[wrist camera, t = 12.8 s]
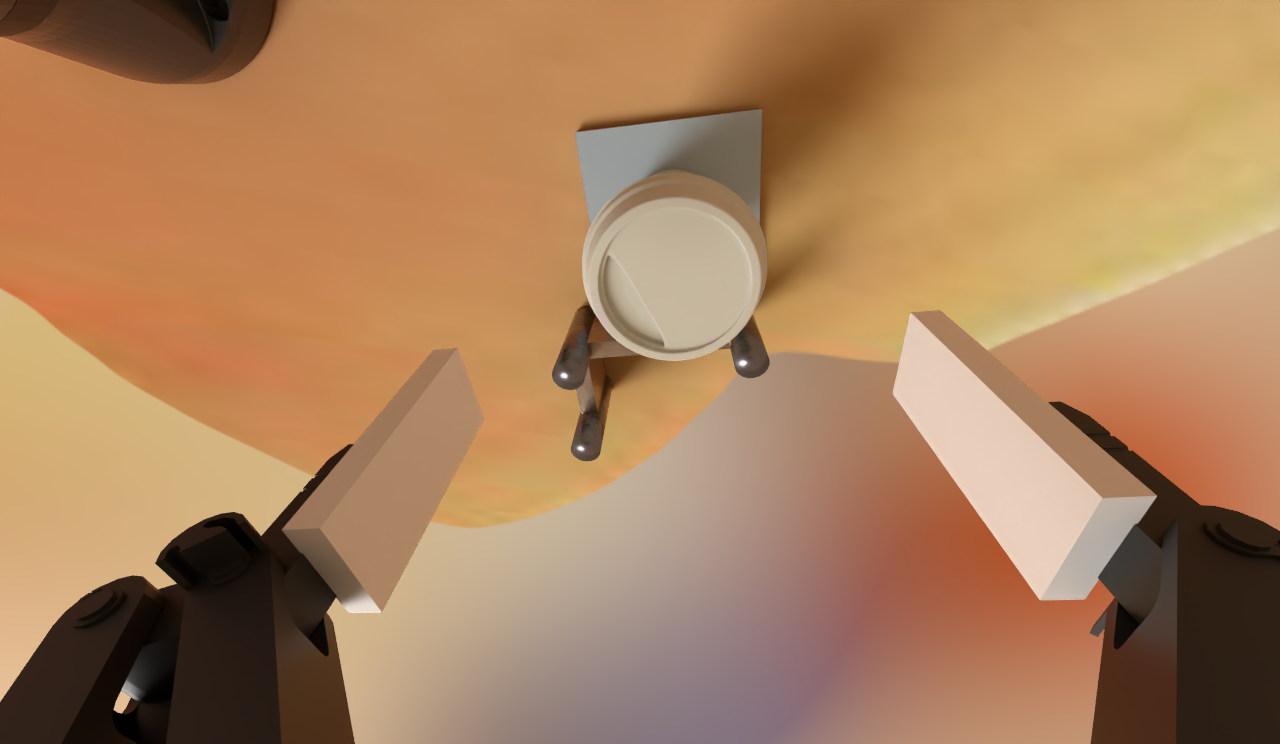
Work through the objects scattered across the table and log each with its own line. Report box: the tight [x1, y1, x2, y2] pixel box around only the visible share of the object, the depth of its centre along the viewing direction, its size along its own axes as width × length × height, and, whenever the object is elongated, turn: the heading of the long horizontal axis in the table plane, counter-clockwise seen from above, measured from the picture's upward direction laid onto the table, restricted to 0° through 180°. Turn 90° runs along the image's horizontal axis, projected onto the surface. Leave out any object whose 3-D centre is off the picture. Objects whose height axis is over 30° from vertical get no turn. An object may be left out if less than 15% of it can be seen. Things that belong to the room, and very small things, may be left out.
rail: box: [552, 307, 769, 461], centre depth 32 cm, size 8×13×8 cm, turn 97°
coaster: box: [575, 109, 762, 226], centre depth 30 cm, size 11×11×1 cm
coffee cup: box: [582, 169, 768, 361], centre depth 25 cm, size 8×9×12 cm
